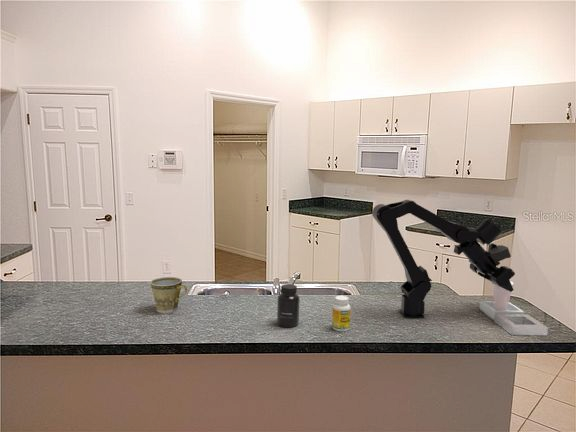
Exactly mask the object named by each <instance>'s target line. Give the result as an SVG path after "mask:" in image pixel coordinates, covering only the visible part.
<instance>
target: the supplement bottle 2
mask: <svg viewBox="0 0 576 432" xmlns="http://www.w3.org/2000/svg"><path fill="white" fill-rule="evenodd" d="M349 300H350V299H349V297H348V296H346V295H337V296H335V297H334V302H335V303H333V305H332V325H331V326H332V329H333V330H334V331H337V332H348V331H349V330H351V329H350V328H351V313H352V312H351V310H352V309H351V305H350V304H349V302H350V301H349Z"/></svg>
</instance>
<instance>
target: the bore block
mask: <svg viewBox="0 0 576 432" xmlns="http://www.w3.org/2000/svg"><path fill="white" fill-rule="evenodd" d="M493 322H494V323H495V324H497V325H498V326H499V327H501V328H502V329H503V330H504V331H505V332H507V333H508V334H509V335H511V336H547V335H548V329H549V328H548V326H546V325H545V324H543V323H542V322H540V321H538V320H537V319H536V318H533V317H532V316H531V315H529V314H527V313H526V314H525V313H524V314H495V316H494V320H493Z"/></svg>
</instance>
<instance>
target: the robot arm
mask: <svg viewBox="0 0 576 432" xmlns="http://www.w3.org/2000/svg"><path fill="white" fill-rule="evenodd" d="M409 214H410V215H412V216H414V217H415V218H418V219H419V220H421V221H423V222H424V223H427V224H428V225H430V226H432V227H433V228H435V229H436V230H437V231H439V232H440V233H441V234H442V235H443V236H445V237H446V238H447V239H449V240H450V241H452V242H454V243H457V244H455V245H454V249H453V253H454V254H456V255H458V256H460V255H461V254H462V253H463V255H464V256H466V258H467V259H468V262H469V269H470V270H471V272H473V273H475V274H477V275H478V276H480V277H482V278H484V279H486V280H488V281H489V282H491V283H492V282H493V283H494V284H495V285H497V286H500V287H502V288H504V289H506V290H508V291H510V292H511V293H512V292H513V291H514V287H512V285H511V283H510V281H511V280H510V279H512V278H513V277H514V276H515V275H516V272H514V270H513V269H512V268H511V267H508V266H506V265H505V266H504V265H501V266H499V265H500V264H501V261H504V260H505V259H510V258H512V255H511V252H510V249H509V247H508V246H505V245H502V244H501V245H500V244H498V245H497V244H496V243H492V242H493V241H495V240H496V239H497V238H498V237H500V235H502V234H503V231H502V230H501V228H500V227H499V226H497V225H495V224H494V223H493V222H491V220H490V219H487V218H484V219H483V220H482V221H481V222H480V223H479V224H478V225H477V226H476V227H475V228H474V229H472V228H471V227H470V228H469V227H467V226H465V225H461V224H459V223H456V222H453V221H450V220H447V219H445V218H443V217H441V216H440V215H438V214H436V213H434V212H432V211H431V210H428V209H427V208H425V207H423V206H421V205H419V203H418V204H417V203H416V201H415V200H411V199H405V200H402V201H398V202H393V203H388V204H384V203H379V204H377V205H375V206H374V207H373V209H372V211H371V215H372V217H373V219H374V220H375V222H376V223H377V224H378V225H379V226H380V227H381V228H382V230H383V231H384V232H385V234H386V235H387V238H388V239H389V241H390V243H391V245H392V247H393V248H394V251H395V253H396V255H397V256H398V259H399V260H400V262H401V264H402V266H403V268H404V272H405V279H406V281H405V282H404V283H403V284H402V285H400V291H401V293H403V294H401V305H400V306H401V308H400V309H399V312H400V314H402V316H403V317H404V318H410V319H411V318H413V319H415V318H420V319H421V318H422V319H423V318H425V315H424V314H425V305H426V304H425V303H426V302H425V299H426V297H427V294H428V293H429V292H430V291H431V288H432V283H431V282H432V281H433V280H432V279H431V278H430V277H429V272H428V271H427V269H425V268H424V267H423V266H421V265H419V266H418V264H417V263H416V260H415V259H414V256H413V254H412V253H411V251H410V249H409V247H408V245H407V244H406V241H405V239H404V237H403V236H402V233H401V231H400V229H399V224H398V220H397V219H399V218H401V217H404V216H406V215H409ZM484 245H488V248H487V250H485V248H484V247H483V246H484ZM498 266H499V267H498Z"/></svg>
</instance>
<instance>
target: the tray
mask: <svg viewBox="0 0 576 432" xmlns="http://www.w3.org/2000/svg"><path fill="white" fill-rule="evenodd" d="M479 311H480V312H482V313H484V314H485V316H487V317H488V318H491V320H493V321H494V316H495V314H525V311H524V310H522V309H521V308H519V307H517V306H516V305H514V304H513V303H511V302H510V301H509V303H508V307H507V311H499V310H495V309H494V300H493V301H488V300H486V301H485V300H480V302H479Z"/></svg>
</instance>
